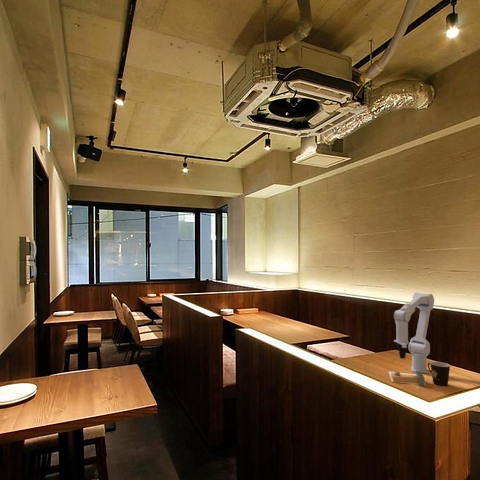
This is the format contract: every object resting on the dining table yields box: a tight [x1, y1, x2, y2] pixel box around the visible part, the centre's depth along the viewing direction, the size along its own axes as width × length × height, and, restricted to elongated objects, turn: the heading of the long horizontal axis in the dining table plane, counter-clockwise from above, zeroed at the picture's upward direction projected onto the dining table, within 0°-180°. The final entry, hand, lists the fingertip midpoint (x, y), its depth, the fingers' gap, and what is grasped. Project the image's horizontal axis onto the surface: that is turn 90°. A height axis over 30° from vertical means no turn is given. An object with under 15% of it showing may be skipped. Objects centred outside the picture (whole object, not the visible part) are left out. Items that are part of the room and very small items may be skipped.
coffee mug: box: [427, 361, 451, 388], centre depth 174 cm, size 12×9×10 cm
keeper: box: [415, 371, 425, 387], centre depth 174 cm, size 9×2×4 cm, turn 162°
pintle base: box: [388, 371, 427, 386], centre depth 181 cm, size 16×16×4 cm
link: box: [390, 373, 426, 383], centre depth 176 cm, size 15×5×2 cm, turn 76°
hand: (402, 358), depth 183 cm, fingers closed
